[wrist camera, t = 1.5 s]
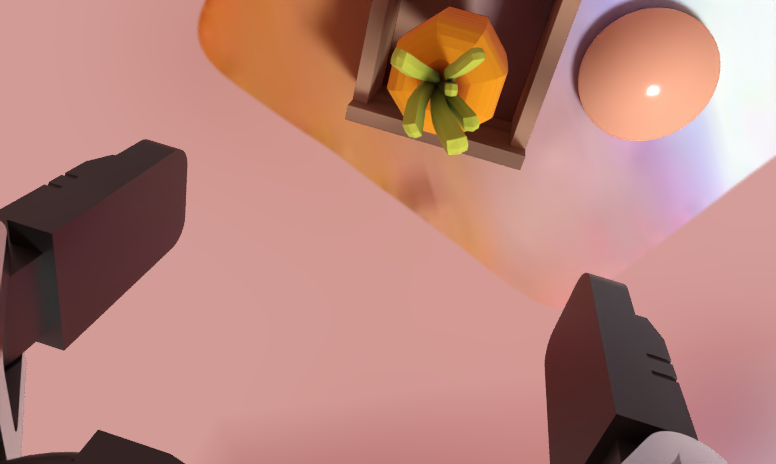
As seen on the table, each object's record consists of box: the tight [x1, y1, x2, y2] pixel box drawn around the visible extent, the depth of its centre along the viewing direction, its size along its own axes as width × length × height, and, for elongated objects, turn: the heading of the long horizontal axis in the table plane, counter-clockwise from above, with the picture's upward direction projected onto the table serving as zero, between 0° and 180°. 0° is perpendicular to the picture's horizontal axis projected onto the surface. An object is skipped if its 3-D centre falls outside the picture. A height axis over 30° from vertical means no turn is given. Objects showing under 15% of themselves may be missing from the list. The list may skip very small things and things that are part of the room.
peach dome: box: [578, 7, 720, 141], centre depth 31 cm, size 7×7×1 cm
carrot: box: [387, 6, 508, 155], centre depth 25 cm, size 5×5×15 cm
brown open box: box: [345, 0, 581, 170], centre depth 30 cm, size 10×10×5 cm
